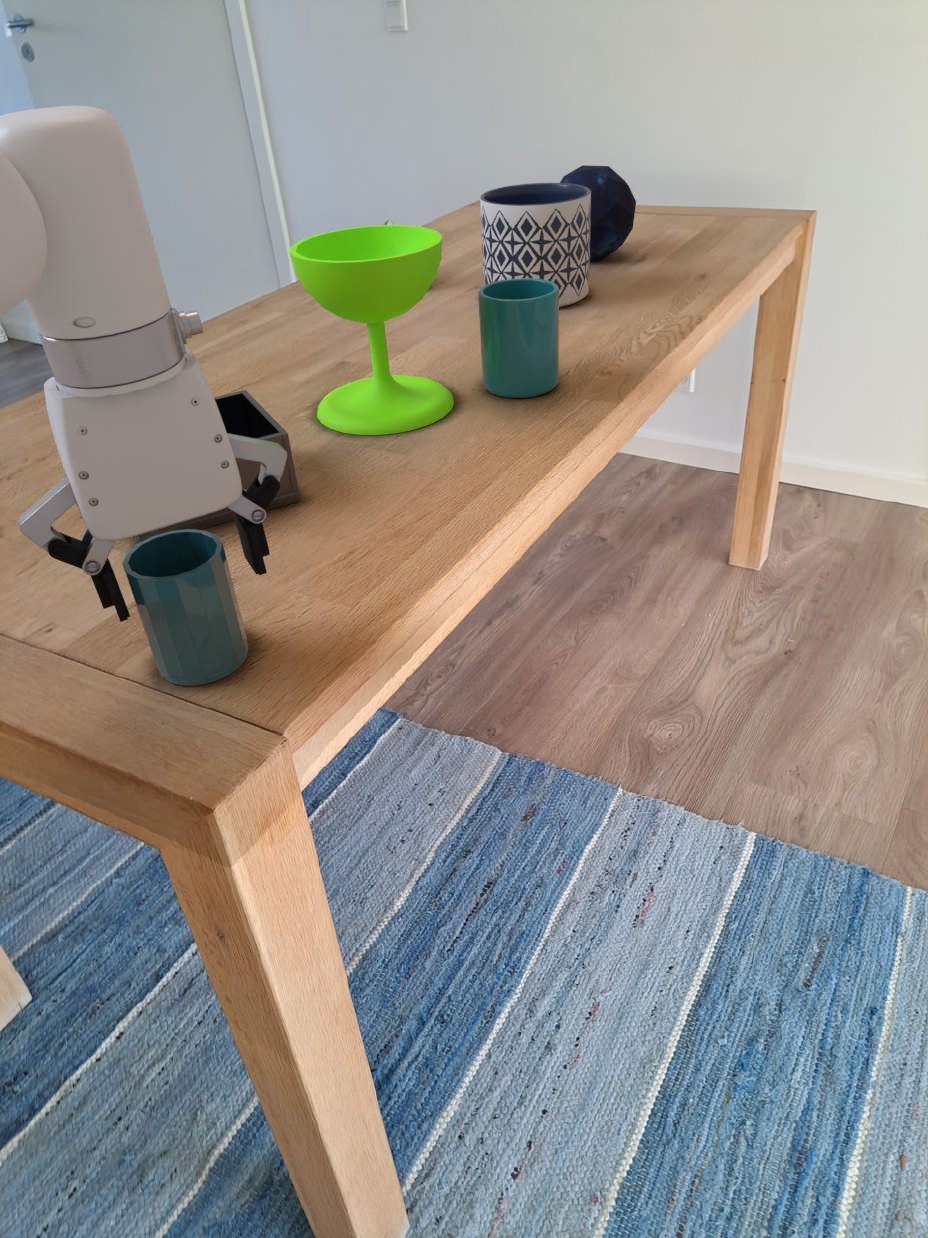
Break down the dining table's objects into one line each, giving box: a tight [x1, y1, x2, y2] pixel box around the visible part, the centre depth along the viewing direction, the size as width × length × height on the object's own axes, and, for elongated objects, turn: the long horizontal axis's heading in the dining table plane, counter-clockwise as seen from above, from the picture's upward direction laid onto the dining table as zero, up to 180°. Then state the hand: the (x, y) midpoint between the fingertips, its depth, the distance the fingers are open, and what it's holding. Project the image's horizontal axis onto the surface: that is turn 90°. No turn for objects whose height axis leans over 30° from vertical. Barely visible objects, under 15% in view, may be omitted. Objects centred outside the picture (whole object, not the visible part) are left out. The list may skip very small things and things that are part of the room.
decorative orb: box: [559, 164, 637, 262], centre depth 147 cm, size 14×15×15 cm
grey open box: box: [135, 389, 301, 543], centre depth 85 cm, size 15×13×7 cm
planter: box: [479, 182, 591, 308], centre depth 131 cm, size 16×16×14 cm
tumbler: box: [121, 529, 249, 687], centre depth 63 cm, size 7×7×9 cm
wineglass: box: [289, 224, 455, 436], centre depth 98 cm, size 16×16×18 cm
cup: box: [477, 278, 560, 399], centre depth 103 cm, size 9×12×11 cm
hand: (190, 587), depth 62 cm, fingers open, 9 cm apart
